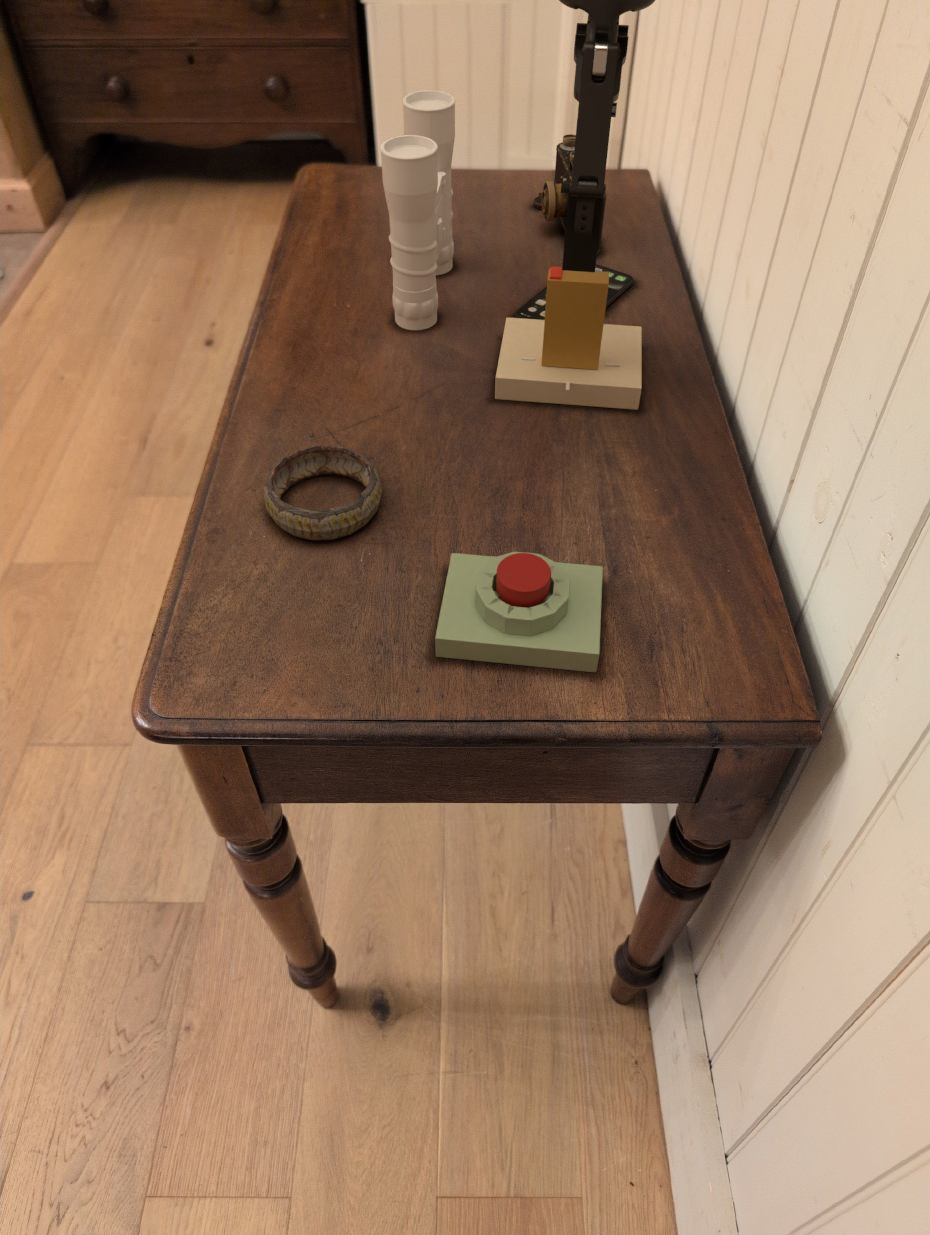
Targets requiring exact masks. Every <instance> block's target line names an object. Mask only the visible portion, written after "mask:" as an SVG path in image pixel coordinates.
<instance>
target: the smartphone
mask: <svg viewBox="0 0 930 1235" xmlns="http://www.w3.org/2000/svg"><path fill="white" fill-rule="evenodd" d="M595 271H602V272H609V285H608V293H607V301H606V308H608V307H609V306H610V305H611V304H613V302H614V301H616V299H617V298H619V297H620V296H621V295H622V294H624V293H625V292H626V291H627V290H628V289H629V288H630V287H631V286H632V285H633V284H634V276H632V275H630V274H629V273H625V272H622V271H619V270H615V269H612V268H610V267H607V266H603V265H601V264H597V263H596V267H595ZM546 295H547V286H545V287H544V288H543V289H541V290H540V291H539V292H538V293H537V294H535V295H534V296H533V297H532V298H530V299H529V300H528V301H526V302H525V303H524V304H523V305H521V307H519V308H518V309H517V310H515V313H514V318H522V319H537V320H545V308H546Z"/></svg>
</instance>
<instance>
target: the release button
mask: <svg viewBox="0 0 930 1235" xmlns="http://www.w3.org/2000/svg"><path fill="white" fill-rule="evenodd" d="M529 553H530V552H526V553H517V554H512V555H510V556H507V557H506V558H504V559H503V560H502V561H501V562H500V563H499V565H498V567H497V576H496V590H497V593H498V595H499V597H500V598H501V599H502V600H503V601H504V602H506V603H508V604H510V605H512V606H516V607H532V606H535V605H538V604H540V603H541V602H543V601H544V600H545V599H546V598H547V596H548V594H549V591H550V582H551V569H550V567H549V565H548V564H547V562H546V561H545V560H543V559H542V558H540V557H539V556H536V555H533V554H529Z"/></svg>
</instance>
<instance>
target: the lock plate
mask: <svg viewBox="0 0 930 1235" xmlns="http://www.w3.org/2000/svg"><path fill="white" fill-rule="evenodd" d="M544 322H545V320H537V319H522V318H515V317H506V318H505V322H504V329H503V334H502V340H501V344H500V351H499V356H498V362H497V368H496V373H495V378H494V380H495V384H494V388H495V389H494V399H495V400H502V401H517V402H528V403H529V402H531V403H541V404H542V403H543V404H555V405H557V404H558V405H567V406H569V405H570V406H581V407H582V406H583V407H597V408H608V409H609V408H611V409H620V410H621V409H622V410H634V411H635V410H636V411H637V410H639V406H640V401H641V395H642V387H643V379H642V378H643V377H642V376H643V375H642V374H643V367H642V366H643V363H642V362H643V361H642V360H643V356H642V351H643V347H642V346H643V344H642V343H643V341H642V336H643V333H642V328H643V327H642V326H638V325H626V324H625V325H623V324H612V323H611V324H609V323H604V325H603V333H602V341H601V349H600V357H599V364H598V370H592V369H578V368H564V367H550V366H542V365H541V363H542V350H543V336H544Z"/></svg>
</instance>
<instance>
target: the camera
mask: <svg viewBox="0 0 930 1235" xmlns="http://www.w3.org/2000/svg"><path fill="white" fill-rule="evenodd" d="M575 139H576V134H572V133H571V134H569V133H568V134H564V135H563V137H562V142H559V143H557V145H556V146H555V147H556V148H555V150H556V153H555V167H554V168H555V169H554V181H552V180H546V181H544V183H543V188H542V192H538V196H536V197H535V198H533V201H532V202H533V206H534V208H536V209H538V210H541V211H542V212H543V213H542V214H543V218H544V220H545V221H546V222H551V221H553V220H554V219H555V218H559V220H560V222H561V224H562V227H563V230H564V232H565V231H566V219H567V208H568V196H569V194H563V193H561V184H562V182H566V183H570V182H571V180H572V172H573V161H574V150H575ZM606 200H607V192H605V193H604V198H603V206H602V215H601V224H600V232H599V241H598V250H597V255H599V254H600V253H601V249H602V248H601V247H602V246H601V244H602V238H603V237H602V236H603V228H604V220H605V219H604V218H605V210H606Z"/></svg>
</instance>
